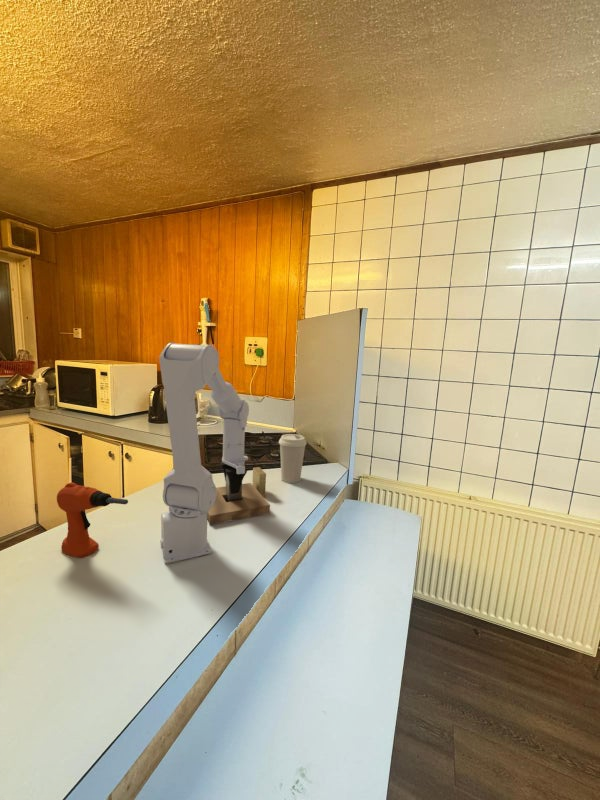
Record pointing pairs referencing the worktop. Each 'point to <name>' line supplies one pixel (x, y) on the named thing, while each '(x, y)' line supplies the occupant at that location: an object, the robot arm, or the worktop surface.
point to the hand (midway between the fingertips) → (232, 489)
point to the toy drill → (81, 517)
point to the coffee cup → (291, 456)
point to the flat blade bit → (259, 480)
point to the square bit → (230, 496)
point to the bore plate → (237, 506)
